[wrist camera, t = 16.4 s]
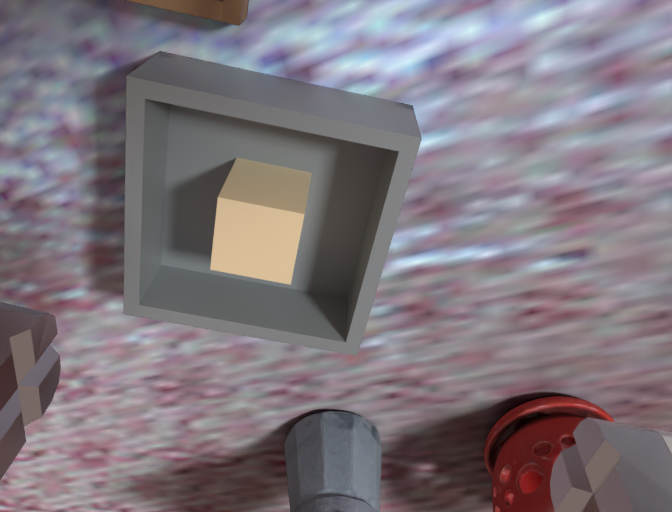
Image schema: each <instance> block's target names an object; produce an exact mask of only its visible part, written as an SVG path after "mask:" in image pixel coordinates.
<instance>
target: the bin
mask: <svg viewBox="0 0 672 512" xmlns="http://www.w3.org/2000/svg"><path fill="white" fill-rule="evenodd" d="M420 142H421V134H420V131H419V127H418V124H417V120H416V116H415V113H414V109H413V106H412V105H407V104H403V103H398V102H393V101H389V100H384V99H379V98H375V97H370V96H365V95H361V94H356V93H351V92H347V91H342V90H337V89H333V88H328V87H324V86H319V85H314V84H310V83H305V82H300V81H296V80H291V79H286V78H282V77H277V76H272V75H268V74H263V73H258V72H254V71H249V70H245V69H240V68H235V67H231V66H226V65H221V64H217V63H212V62H207V61H203V60H198V59H193V58H189V57H184V56H179V55H175V54H170V53H165V52H161V51H160V52H158V53H157V54H156V55H154V56H153V57H152V58H150V59H149V60H147V61H146V62H145V63H143V64H142V65H141V66H139V67H138V68H136V69H135V70H134V71H132V72H131V73H130V74H128V75H127V76H126V142H125V228H124V314H126V315H131V316H137V317H142V318H148V319H154V320H159V321H165V322H170V323H176V324H182V325H187V326H193V327H198V328H204V329H210V330H215V331H221V332H226V333H232V334H238V335H243V336H249V337H254V338H260V339H266V340H271V341H277V342H282V343H288V344H294V345H299V346H305V347H310V348H316V349H322V350H327V351H333V352H338V353H344V354H350V355H355V356H357V355H358V351H359V348H360V344H361V341H362V338H363V334H364V331H365V328H366V324H367V321H368V317H369V314H370V311H371V307H372V304H373V301H374V297H375V294H376V290H377V287H378V284H379V280H380V277H381V273H382V270H383V267H384V263H385V260H386V257H387V253H388V250H389V246H390V243H391V240H392V236H393V233H394V230H395V226H396V223H397V219H398V216H399V213H400V209H401V206H402V203H403V199H404V196H405V192H406V189H407V186H408V182H409V179H410V176H411V172H412V169H413V165H414V162H415V159H416V155H417V152H418V149H419V145H420ZM236 158H241V159H246V160H251V161H256V162H261V163H266V164H271V165H276V166H281V167H286V168H291V169H296V170H301V171H305V172H310V173H312V174H311V180H310V186H309V192H308V198H307V203H306V209H305V215H304V220H303V225H302V230H301V235H300V240H299V245H298V250H297V255H296V260H295V265H294V271H293V276H292V281H291V285H290V284H284V283H279V282H273V281H268V280H263V279H257V278H252V277H247V276H241V275H236V274H231V273H225V272H220V271H214V270H210V266H211V256H212V247H213V238H214V228H215V219H216V209H217V200H218V196H219V194H220V192H221V189H222V187H223V185H224V183H225V181H226V179H227V177H228V175H229V173H230V171H231V169H232V167H233V165H234V162H235V160H236Z"/></svg>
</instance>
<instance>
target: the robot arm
mask: <svg viewBox="0 0 672 512" xmlns="http://www.w3.org/2000/svg"><path fill="white" fill-rule="evenodd" d="M56 335H57V327H56V320H55V316H53V315H51V314H50V313H47V312H43V311H38V310H34V309H29V308H24V307H20V306H15V305H11V304H6V303H2V302H0V480H1V479H2V477H3V476H4V474H5V473H6V471H7V469H8V468H9V466H10V465H11V463H12V462H13V460H14V459H15V457H16V456H17V454H18V453H19V451H20V450H21V448H22V447H23V445H24V444H25V442H26V438H25V431H24V426H26V425H28V424H30V423H31V422H33V421H35V420H37V419H39V418H41V417H42V416H43V414H44V413H45V411H46V409H47V408H48V406H49V405H50V403H51V401H52V399H53V396H54V393H55V391H56V388H57V385H58V383H59V376H60V368H61V367H60V356H59V354H58V353H57V352H56V351H55V350H54V349H53V348H52V346H51V345H50V343H51V342H52V341H53V339H54V338H55V336H56ZM573 435H574V438H575V441H576V444H575V445H573V446H571V447H569V448H567V449H565V450H563V451H561V452H560V454H559V456H558V458H557V459H556V461H555V463H554V465H553V468H552V474H551V479H550V490H551V499H552V503H553V507H554V510H555V512H672V432H666V431H661V430H655V429H647V428H643V427H638V426H632V425H627V424H622V423H616V422H611V421H605V420H600V419H595V418H589V417H588V418H586V419H584V420H583V421H581V422H580V423H579V424H578V426H577V427H576V429H575V430H574V432H573Z"/></svg>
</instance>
